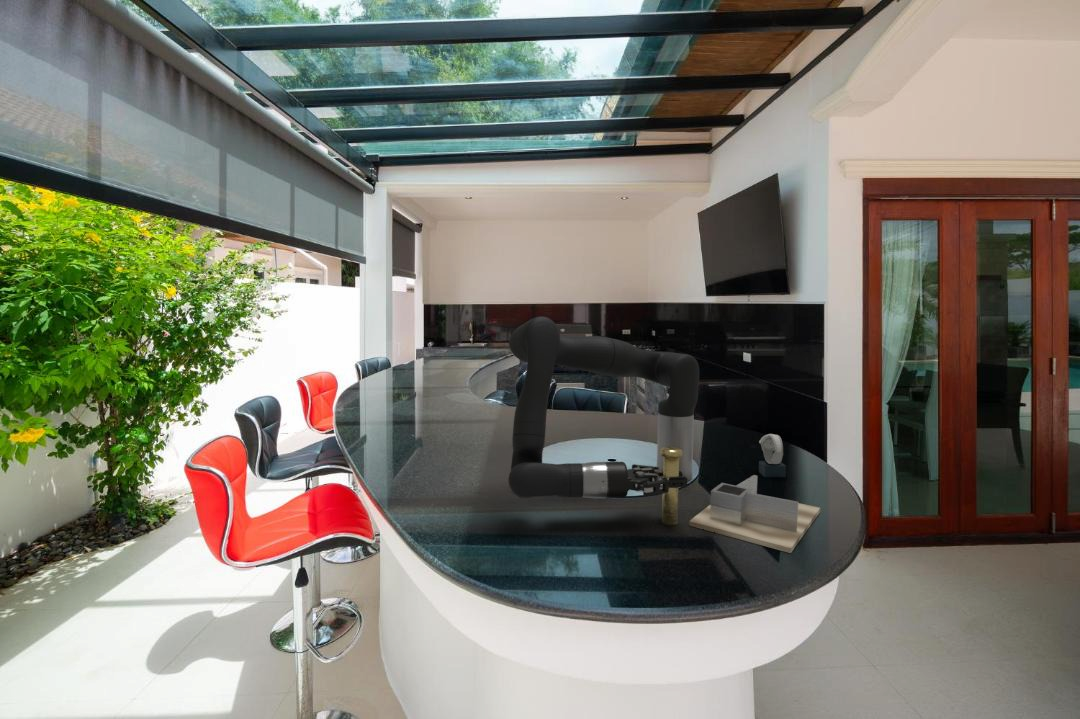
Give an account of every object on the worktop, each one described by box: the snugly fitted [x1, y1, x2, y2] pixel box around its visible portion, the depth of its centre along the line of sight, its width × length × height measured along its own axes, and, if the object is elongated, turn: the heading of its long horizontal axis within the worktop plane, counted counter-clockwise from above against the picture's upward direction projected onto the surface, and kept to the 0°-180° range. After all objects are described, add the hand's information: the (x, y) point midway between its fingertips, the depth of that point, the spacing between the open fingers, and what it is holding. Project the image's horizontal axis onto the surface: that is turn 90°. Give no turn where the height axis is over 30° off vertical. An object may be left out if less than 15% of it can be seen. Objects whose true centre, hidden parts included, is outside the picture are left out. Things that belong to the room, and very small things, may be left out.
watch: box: [758, 433, 787, 478], centre depth 146 cm, size 6×8×11 cm
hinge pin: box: [661, 446, 682, 526], centre depth 114 cm, size 4×4×16 cm
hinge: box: [709, 474, 799, 532], centre depth 116 cm, size 16×16×6 cm
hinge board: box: [688, 502, 821, 554], centre depth 117 cm, size 25×20×1 cm
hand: (683, 478), depth 114 cm, fingers closed on hinge pin, 3 cm apart
